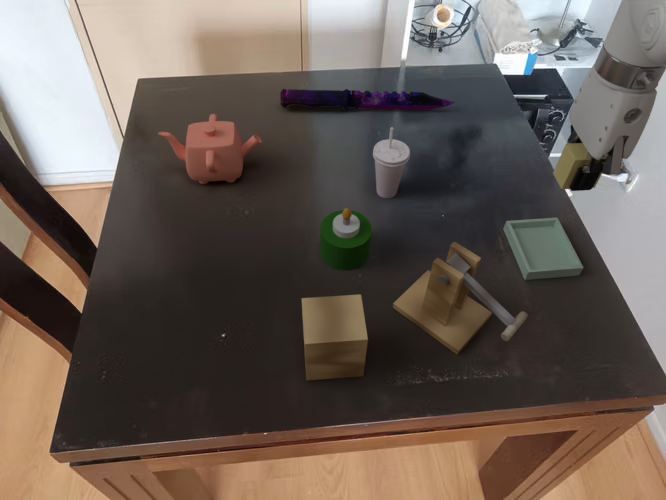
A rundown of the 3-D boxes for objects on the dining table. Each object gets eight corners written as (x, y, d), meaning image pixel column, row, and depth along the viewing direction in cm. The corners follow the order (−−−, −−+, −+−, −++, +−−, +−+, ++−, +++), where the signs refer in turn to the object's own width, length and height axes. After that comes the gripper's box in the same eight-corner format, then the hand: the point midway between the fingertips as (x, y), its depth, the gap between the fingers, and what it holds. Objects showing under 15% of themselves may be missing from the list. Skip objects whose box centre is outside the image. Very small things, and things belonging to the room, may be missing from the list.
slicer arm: (522, 320, 74) (532, 314, 72) (503, 343, 72) (512, 338, 70) (453, 254, 76) (461, 246, 74) (433, 274, 74) (440, 267, 72)
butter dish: (579, 275, 87) (583, 267, 86) (524, 280, 87) (528, 272, 85) (553, 225, 95) (557, 217, 93) (503, 229, 94) (506, 220, 92)
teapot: (228, 139, 108) (221, 96, 101) (267, 168, 103) (262, 125, 95) (168, 172, 102) (155, 129, 94) (206, 205, 96) (195, 161, 89)
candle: (311, 256, 89) (309, 215, 81) (336, 225, 94) (337, 183, 86) (354, 277, 86) (357, 236, 79) (378, 244, 91) (383, 202, 83)
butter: (585, 171, 80) (600, 142, 75) (594, 187, 77) (610, 158, 73) (552, 173, 79) (565, 143, 75) (561, 189, 77) (575, 160, 73)
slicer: (490, 316, 82) (513, 264, 72) (457, 355, 78) (476, 305, 68) (427, 274, 87) (440, 219, 77) (392, 307, 83) (401, 254, 73)
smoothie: (387, 174, 102) (394, 113, 92) (411, 193, 99) (421, 131, 89) (362, 189, 100) (367, 127, 89) (385, 208, 97) (393, 147, 86)
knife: (281, 113, 114) (279, 93, 111) (282, 103, 117) (281, 83, 113) (454, 117, 114) (458, 97, 111) (452, 107, 117) (456, 87, 113)
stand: (357, 333, 80) (361, 294, 72) (363, 376, 75) (367, 339, 68) (303, 337, 79) (301, 298, 72) (306, 380, 75) (304, 344, 67)
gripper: (695, 104, 59) (623, 219, 73) (629, 29, 70) (577, 141, 84) (630, 107, 59) (570, 222, 73) (573, 30, 69) (530, 143, 83)
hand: (574, 178), depth 78 cm, fingers closed on butter, 3 cm apart
